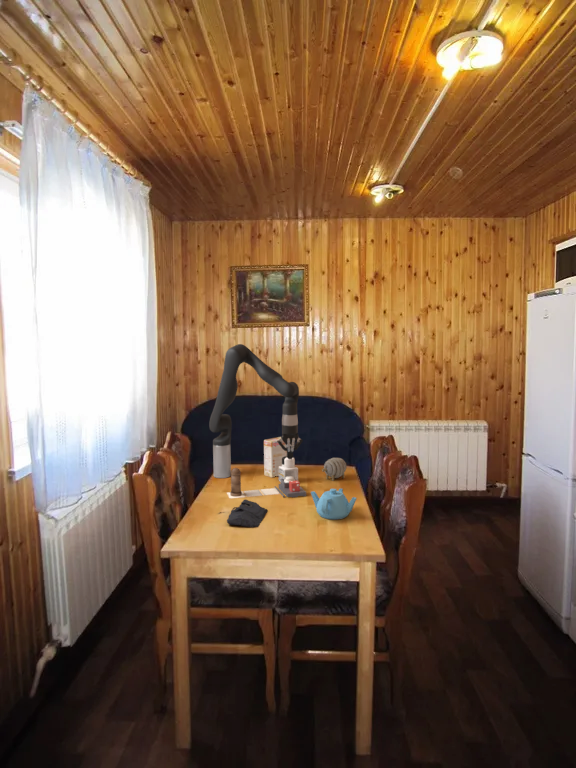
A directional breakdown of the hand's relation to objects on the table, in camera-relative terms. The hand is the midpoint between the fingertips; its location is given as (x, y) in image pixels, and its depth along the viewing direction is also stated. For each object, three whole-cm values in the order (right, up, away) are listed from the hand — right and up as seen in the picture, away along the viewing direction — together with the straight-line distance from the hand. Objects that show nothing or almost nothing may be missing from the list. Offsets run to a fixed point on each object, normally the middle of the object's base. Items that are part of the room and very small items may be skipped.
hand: (289, 458), depth 234 cm
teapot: (+18, -18, -33) cm, 42 cm away
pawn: (-25, -15, -10) cm, 31 cm away
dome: (0, -13, +1) cm, 13 cm away
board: (-17, -16, -8) cm, 25 cm away
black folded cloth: (-18, -19, -36) cm, 45 cm away
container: (-1, -14, +14) cm, 20 cm away
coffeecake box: (-6, -13, +29) cm, 33 cm away
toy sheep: (+23, -14, +19) cm, 33 cm away
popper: (+1, -15, -3) cm, 16 cm away
